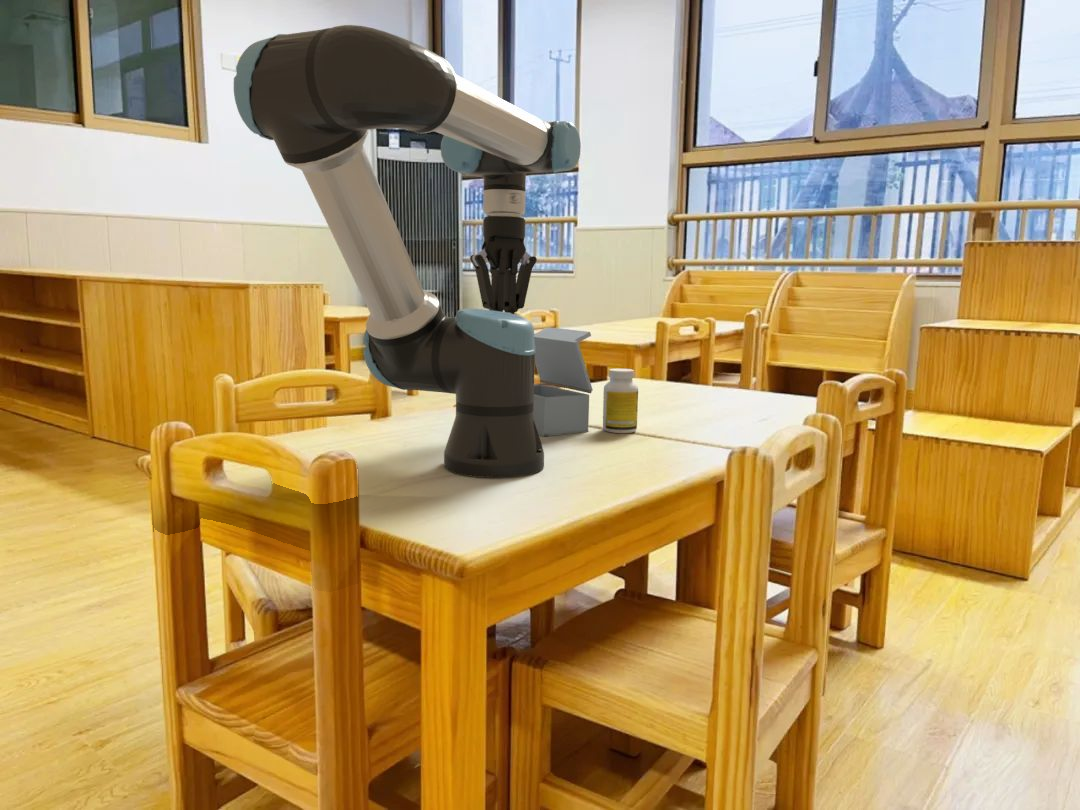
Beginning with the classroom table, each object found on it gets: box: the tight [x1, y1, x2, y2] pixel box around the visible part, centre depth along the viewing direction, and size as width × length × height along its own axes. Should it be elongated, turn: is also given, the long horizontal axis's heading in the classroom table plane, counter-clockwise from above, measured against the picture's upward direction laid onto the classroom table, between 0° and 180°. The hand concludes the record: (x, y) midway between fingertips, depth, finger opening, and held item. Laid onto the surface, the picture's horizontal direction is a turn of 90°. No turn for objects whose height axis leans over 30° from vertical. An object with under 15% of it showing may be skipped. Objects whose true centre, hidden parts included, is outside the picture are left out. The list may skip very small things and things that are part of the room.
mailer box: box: [533, 383, 590, 438], centre depth 155 cm, size 10×16×7 cm, turn 34°
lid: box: [534, 326, 593, 394], centre depth 156 cm, size 10×17×5 cm
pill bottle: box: [602, 368, 639, 434], centre depth 152 cm, size 6×6×12 cm
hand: (503, 348), depth 148 cm, fingers closed
